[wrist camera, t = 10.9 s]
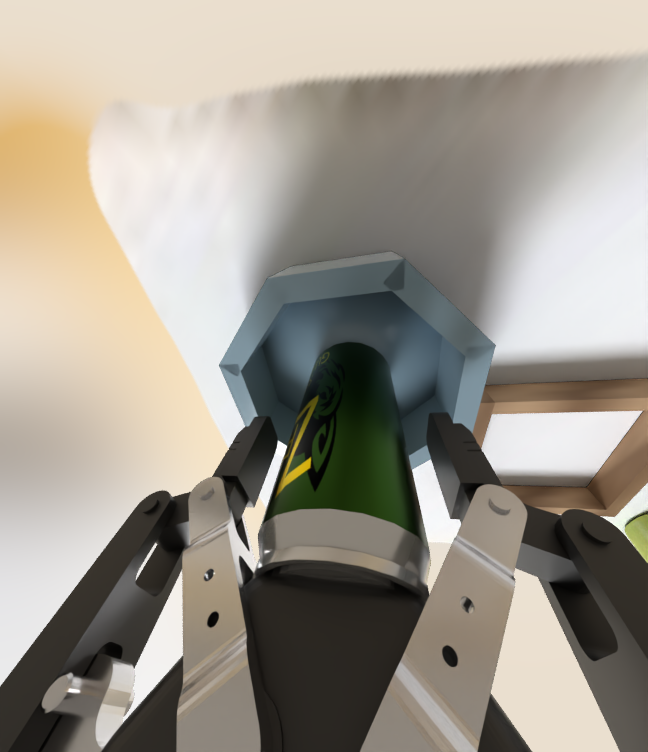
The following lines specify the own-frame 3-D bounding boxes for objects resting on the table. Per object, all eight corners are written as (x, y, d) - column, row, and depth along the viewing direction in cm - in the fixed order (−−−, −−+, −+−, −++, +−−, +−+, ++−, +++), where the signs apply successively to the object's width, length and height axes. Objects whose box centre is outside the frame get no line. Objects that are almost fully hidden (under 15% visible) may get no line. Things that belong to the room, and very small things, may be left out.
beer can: (401, 347, 15) (487, 590, 5) (376, 407, 18) (397, 635, 8) (320, 329, 15) (242, 534, 5) (309, 392, 18) (245, 600, 8)
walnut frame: (688, 376, 15) (731, 395, 13) (594, 494, 21) (614, 516, 20) (466, 386, 17) (478, 403, 15) (444, 489, 24) (451, 509, 22)
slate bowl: (472, 238, 12) (523, 241, 8) (440, 432, 20) (460, 479, 16) (229, 275, 15) (185, 289, 11) (281, 433, 22) (266, 474, 18)
